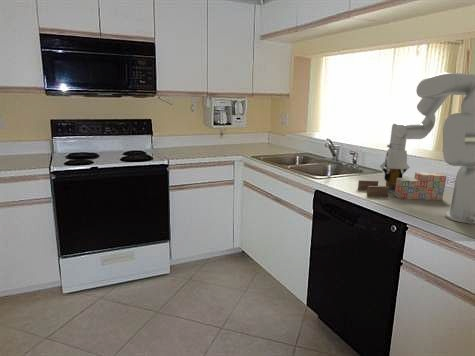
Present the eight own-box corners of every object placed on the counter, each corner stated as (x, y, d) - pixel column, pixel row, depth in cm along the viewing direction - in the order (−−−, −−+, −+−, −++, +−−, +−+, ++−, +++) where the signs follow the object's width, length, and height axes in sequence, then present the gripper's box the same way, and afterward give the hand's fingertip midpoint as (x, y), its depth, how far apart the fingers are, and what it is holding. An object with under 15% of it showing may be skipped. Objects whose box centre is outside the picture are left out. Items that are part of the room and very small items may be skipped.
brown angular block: (387, 196, 174) (388, 187, 173) (367, 196, 174) (368, 186, 173) (376, 189, 187) (377, 180, 186) (357, 189, 187) (358, 180, 186)
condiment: (384, 184, 194) (387, 162, 191) (401, 186, 191) (405, 164, 188) (384, 187, 187) (387, 164, 184) (402, 189, 184) (405, 166, 181)
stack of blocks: (400, 199, 171) (403, 174, 169) (393, 195, 177) (397, 171, 175) (442, 200, 173) (446, 175, 170) (435, 196, 179) (439, 172, 176)
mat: (408, 192, 184) (408, 191, 184) (385, 192, 183) (385, 191, 183) (397, 186, 196) (397, 185, 195) (375, 186, 195) (375, 185, 195)
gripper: (384, 147, 180) (379, 182, 184) (417, 148, 181) (412, 182, 185) (377, 145, 187) (373, 178, 191) (409, 146, 188) (405, 179, 192)
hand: (392, 180), depth 188 cm, fingers closed on condiment, 6 cm apart
